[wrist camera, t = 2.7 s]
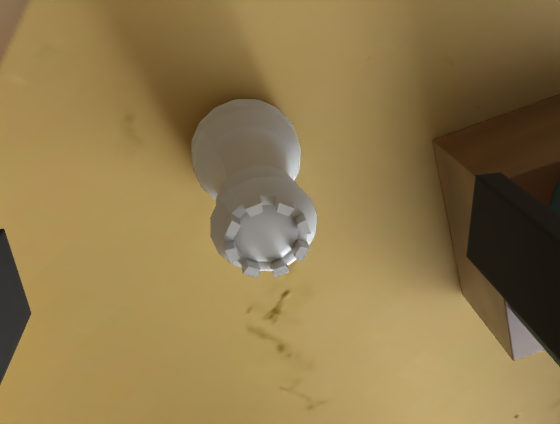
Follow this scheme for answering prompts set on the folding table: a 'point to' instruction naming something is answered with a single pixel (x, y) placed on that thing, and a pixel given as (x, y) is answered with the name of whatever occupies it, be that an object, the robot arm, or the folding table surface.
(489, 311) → the base block
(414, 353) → the folding table surface
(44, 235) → the folding table surface
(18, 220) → the folding table surface
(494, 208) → the robot arm
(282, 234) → the rook chess piece
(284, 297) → the folding table surface
